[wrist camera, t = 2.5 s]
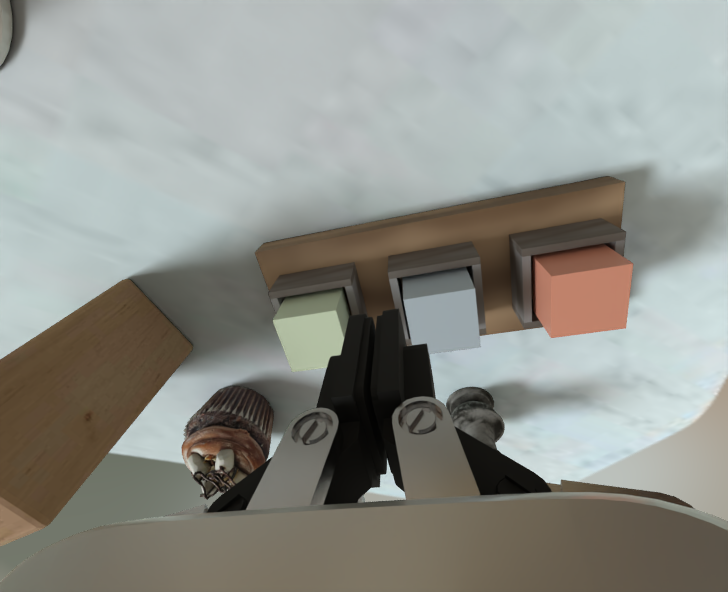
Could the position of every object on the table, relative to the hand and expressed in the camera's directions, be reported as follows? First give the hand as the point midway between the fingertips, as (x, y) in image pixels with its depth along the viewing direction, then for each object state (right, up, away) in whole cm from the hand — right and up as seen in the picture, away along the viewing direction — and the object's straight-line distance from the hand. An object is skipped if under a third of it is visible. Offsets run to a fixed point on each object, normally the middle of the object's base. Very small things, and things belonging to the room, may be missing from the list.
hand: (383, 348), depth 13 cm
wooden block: (-26, -2, +29) cm, 39 cm away
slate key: (+5, +2, +18) cm, 19 cm away
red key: (+15, +3, +16) cm, 23 cm away
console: (+6, +4, +23) cm, 24 cm away
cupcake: (-16, -12, +33) cm, 38 cm away
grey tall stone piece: (+11, -11, +30) cm, 34 cm away
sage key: (-4, 0, +20) cm, 20 cm away
